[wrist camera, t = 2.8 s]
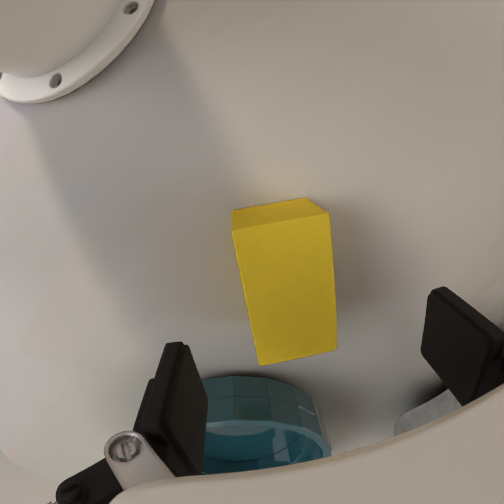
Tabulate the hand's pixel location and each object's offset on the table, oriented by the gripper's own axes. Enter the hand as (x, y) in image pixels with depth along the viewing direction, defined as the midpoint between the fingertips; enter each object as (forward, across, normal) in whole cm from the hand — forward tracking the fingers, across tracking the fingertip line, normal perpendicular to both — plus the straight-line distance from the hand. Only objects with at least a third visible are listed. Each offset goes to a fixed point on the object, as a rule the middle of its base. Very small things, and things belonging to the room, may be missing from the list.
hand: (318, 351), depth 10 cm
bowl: (+7, +6, +13) cm, 16 cm away
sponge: (+7, 0, -1) cm, 7 cm away
